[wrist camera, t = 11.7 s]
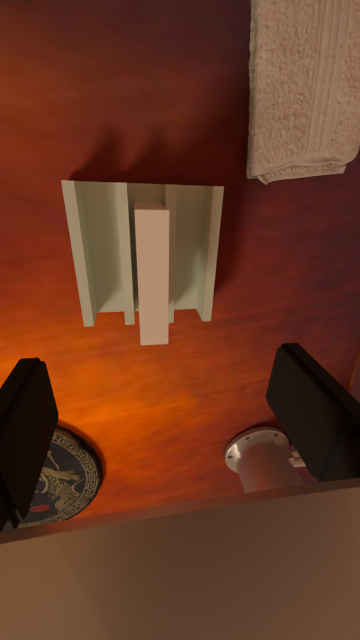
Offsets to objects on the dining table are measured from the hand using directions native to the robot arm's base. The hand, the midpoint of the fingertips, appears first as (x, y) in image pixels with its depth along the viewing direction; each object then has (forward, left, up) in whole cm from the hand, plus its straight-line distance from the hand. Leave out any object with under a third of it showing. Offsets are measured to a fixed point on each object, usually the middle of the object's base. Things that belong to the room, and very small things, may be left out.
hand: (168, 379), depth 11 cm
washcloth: (-15, -17, -23) cm, 32 cm away
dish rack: (0, 0, -22) cm, 22 cm away
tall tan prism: (0, 0, -21) cm, 21 cm away
